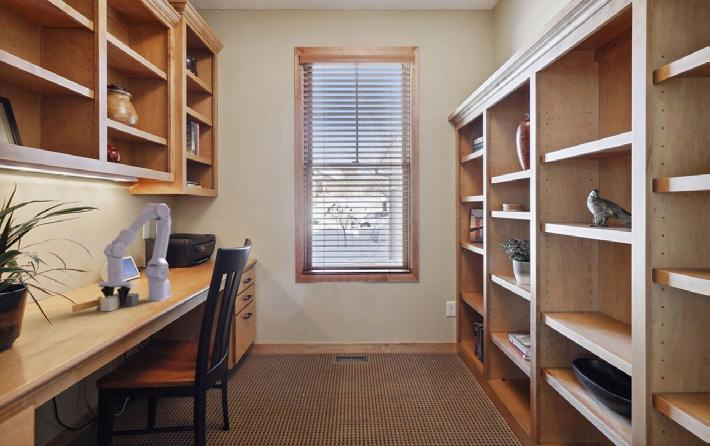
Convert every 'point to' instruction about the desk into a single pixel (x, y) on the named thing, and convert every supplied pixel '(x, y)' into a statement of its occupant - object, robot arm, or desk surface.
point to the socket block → (128, 300)
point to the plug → (109, 303)
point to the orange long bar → (86, 305)
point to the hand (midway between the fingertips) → (116, 304)
